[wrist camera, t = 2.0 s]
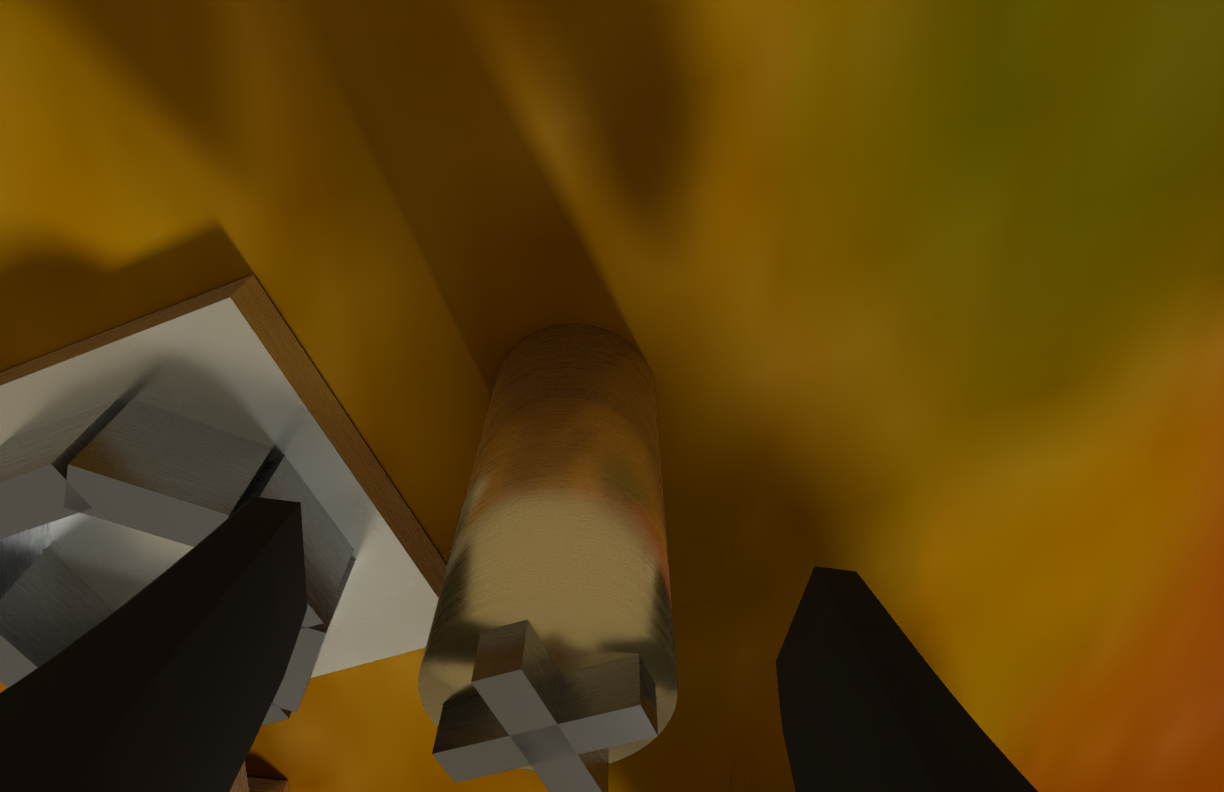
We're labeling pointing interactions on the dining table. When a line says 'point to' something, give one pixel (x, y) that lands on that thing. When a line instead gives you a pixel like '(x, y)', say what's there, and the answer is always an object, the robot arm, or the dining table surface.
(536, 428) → the coupler
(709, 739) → the dining table surface
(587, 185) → the dining table surface
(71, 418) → the coupling socket
